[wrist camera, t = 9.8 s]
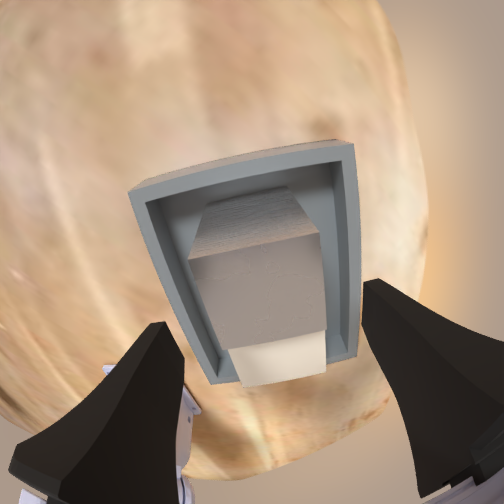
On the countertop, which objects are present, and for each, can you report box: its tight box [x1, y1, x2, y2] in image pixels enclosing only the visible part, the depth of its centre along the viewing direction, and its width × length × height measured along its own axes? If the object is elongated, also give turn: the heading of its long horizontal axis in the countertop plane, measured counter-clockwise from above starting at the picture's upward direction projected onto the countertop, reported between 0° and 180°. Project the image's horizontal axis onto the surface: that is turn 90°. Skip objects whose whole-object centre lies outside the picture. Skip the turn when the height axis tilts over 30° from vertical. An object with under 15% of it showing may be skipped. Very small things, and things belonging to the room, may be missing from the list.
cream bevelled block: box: [228, 330, 326, 388], centre depth 19 cm, size 5×6×4 cm
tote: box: [128, 139, 361, 385], centre depth 18 cm, size 16×12×3 cm
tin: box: [188, 186, 327, 350], centre depth 14 cm, size 5×5×7 cm
